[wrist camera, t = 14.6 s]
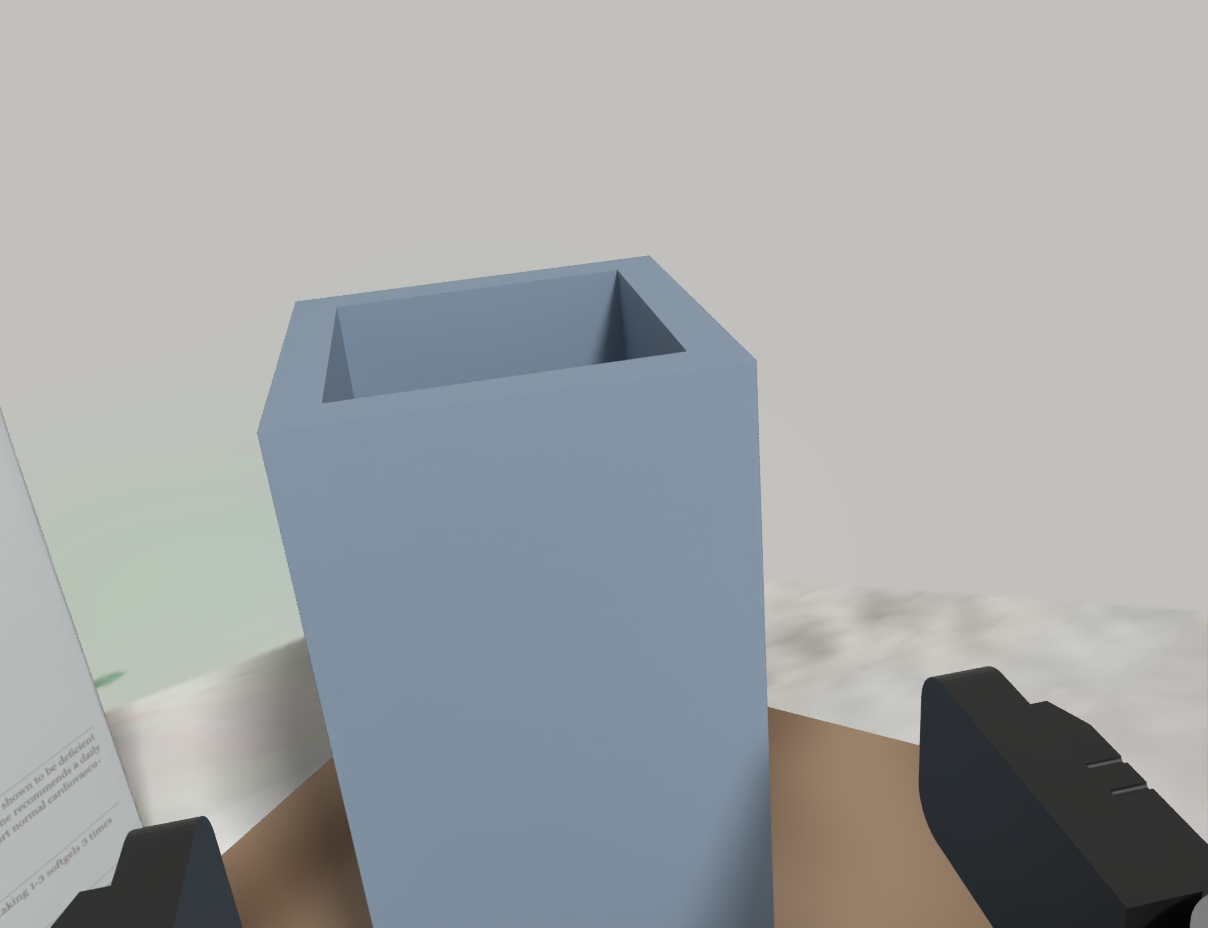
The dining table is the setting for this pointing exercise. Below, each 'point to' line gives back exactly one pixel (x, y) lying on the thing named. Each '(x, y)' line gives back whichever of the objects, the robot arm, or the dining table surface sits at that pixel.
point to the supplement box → (49, 732)
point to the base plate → (798, 828)
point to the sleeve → (533, 596)
